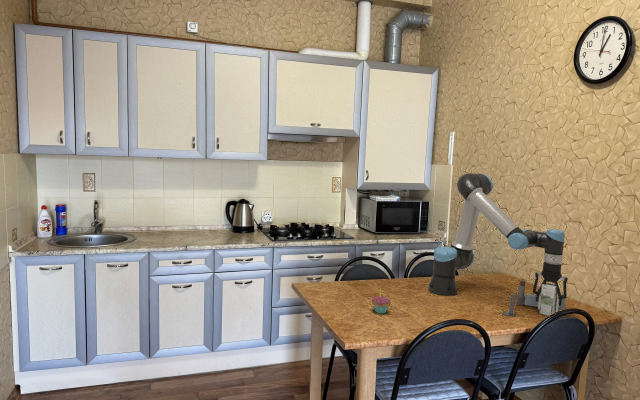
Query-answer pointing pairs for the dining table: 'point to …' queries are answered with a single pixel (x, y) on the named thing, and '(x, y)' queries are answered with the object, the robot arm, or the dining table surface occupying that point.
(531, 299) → the gate
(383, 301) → the cupcake
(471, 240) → the robot arm
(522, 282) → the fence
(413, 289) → the dining table surface
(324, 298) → the dining table surface
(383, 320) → the dining table surface
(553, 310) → the syrup box
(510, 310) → the post
